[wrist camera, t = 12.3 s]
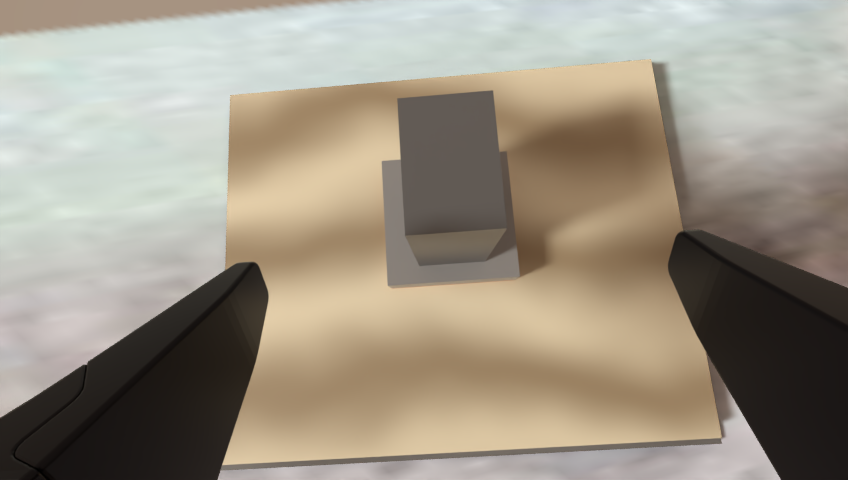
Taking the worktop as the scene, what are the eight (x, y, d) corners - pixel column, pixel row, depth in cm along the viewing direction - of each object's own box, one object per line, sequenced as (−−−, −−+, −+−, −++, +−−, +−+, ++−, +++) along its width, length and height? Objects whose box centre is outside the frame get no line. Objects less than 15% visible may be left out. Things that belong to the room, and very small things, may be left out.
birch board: (716, 441, 21) (736, 449, 19) (223, 467, 22) (208, 478, 20) (647, 65, 25) (659, 49, 23) (233, 100, 26) (221, 87, 24)
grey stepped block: (513, 280, 21) (562, 251, 12) (392, 288, 22) (355, 265, 13) (501, 164, 22) (538, 62, 14) (386, 173, 23) (349, 78, 14)
